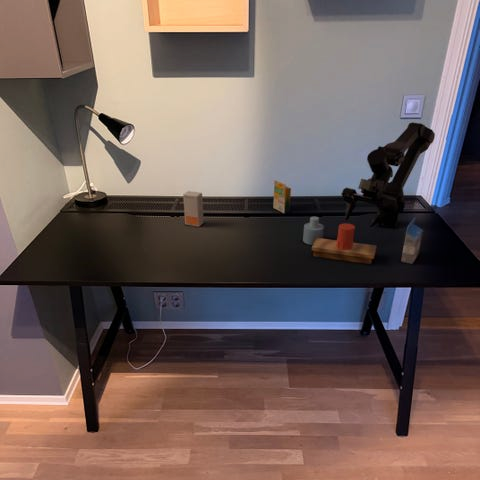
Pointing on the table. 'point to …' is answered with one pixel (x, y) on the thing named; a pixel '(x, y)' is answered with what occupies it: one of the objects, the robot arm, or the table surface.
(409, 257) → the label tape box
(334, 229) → the table surface
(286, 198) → the crayon box
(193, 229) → the table surface
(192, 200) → the cosmetic box
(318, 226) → the light gray cylinder
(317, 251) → the brown long block
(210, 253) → the table surface
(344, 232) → the red cylinder
